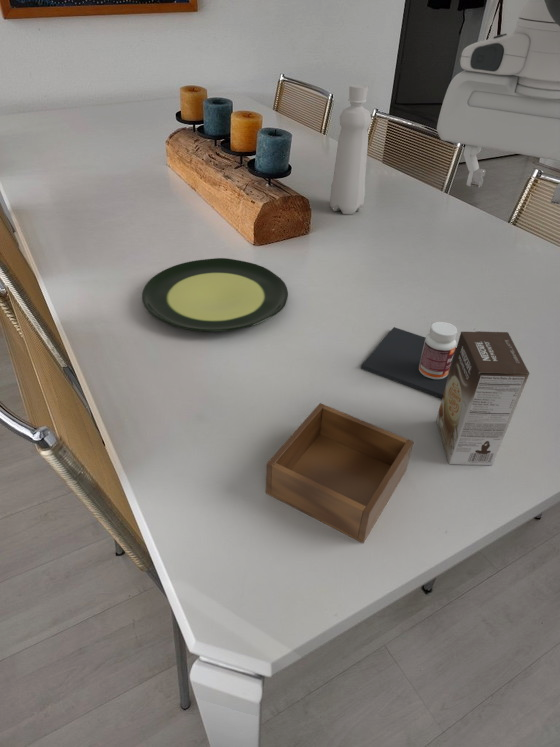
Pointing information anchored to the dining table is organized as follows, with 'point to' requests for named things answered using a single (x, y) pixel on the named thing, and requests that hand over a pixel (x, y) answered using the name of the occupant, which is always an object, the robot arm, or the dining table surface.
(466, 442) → the coffee box
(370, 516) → the wooden box
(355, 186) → the bottle
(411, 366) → the mat
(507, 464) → the dining table surface
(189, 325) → the plate
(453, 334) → the pill bottle
